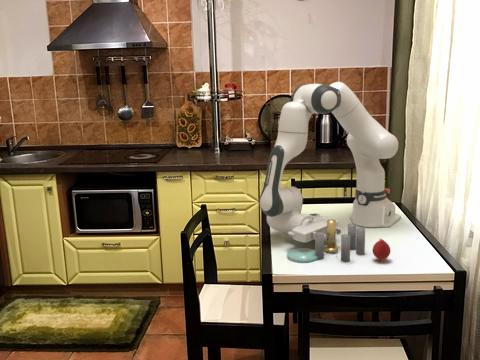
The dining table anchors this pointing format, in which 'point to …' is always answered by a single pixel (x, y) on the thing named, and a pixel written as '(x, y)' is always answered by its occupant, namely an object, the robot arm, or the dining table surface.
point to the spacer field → (343, 243)
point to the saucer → (302, 255)
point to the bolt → (331, 237)
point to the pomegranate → (381, 250)
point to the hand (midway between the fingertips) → (333, 234)
